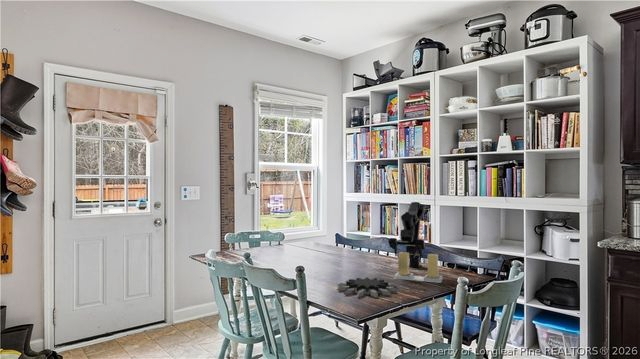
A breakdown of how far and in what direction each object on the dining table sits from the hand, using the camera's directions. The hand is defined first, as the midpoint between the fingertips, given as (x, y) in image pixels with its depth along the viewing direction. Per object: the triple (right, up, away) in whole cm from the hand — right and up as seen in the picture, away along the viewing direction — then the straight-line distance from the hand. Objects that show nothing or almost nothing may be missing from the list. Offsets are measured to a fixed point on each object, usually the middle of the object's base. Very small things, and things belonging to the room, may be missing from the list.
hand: (404, 256), depth 204 cm
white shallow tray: (+6, -11, -5) cm, 13 cm away
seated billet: (+13, -10, -8) cm, 18 cm away
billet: (-1, -10, -2) cm, 10 cm away
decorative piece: (-22, -11, -22) cm, 34 cm away
